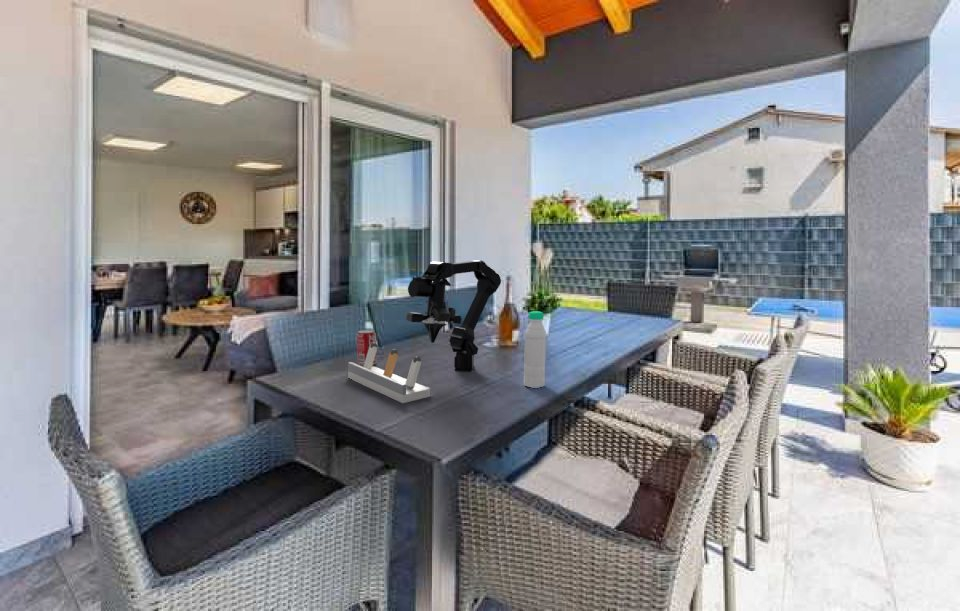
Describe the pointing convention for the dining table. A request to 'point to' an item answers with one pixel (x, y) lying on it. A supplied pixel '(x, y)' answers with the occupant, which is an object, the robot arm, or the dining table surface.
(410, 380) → the cream lever
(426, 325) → the robot arm
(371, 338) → the soda can
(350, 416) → the dining table surface
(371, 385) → the switch panel
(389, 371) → the lever orange
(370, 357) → the cream lever
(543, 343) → the water bottle
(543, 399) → the dining table surface
